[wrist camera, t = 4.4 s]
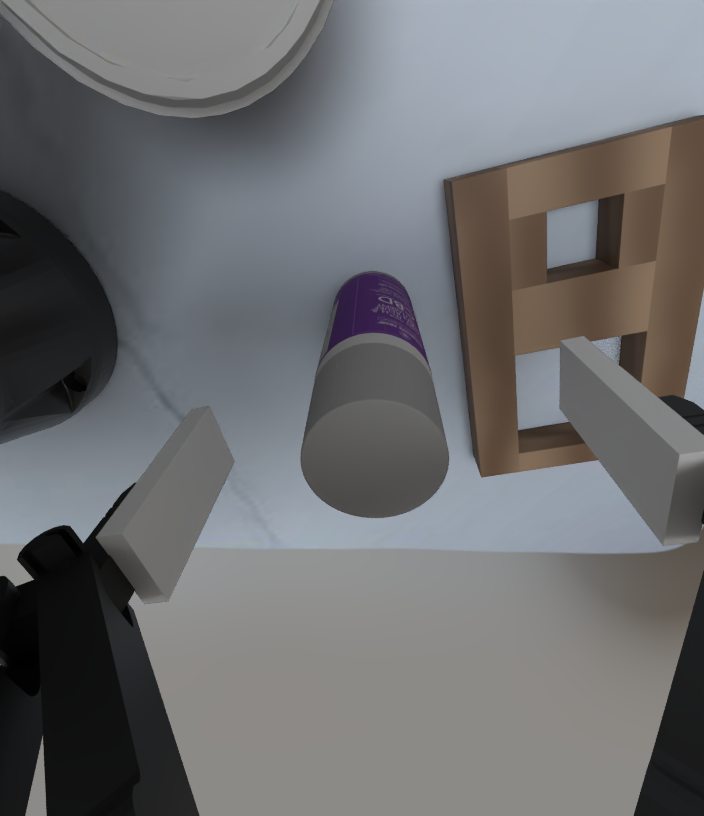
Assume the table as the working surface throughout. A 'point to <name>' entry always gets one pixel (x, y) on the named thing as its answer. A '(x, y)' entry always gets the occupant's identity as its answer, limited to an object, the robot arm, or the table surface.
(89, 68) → the disposable coffee cup
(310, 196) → the table surface
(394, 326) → the container
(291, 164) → the table surface
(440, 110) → the table surface
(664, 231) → the socket board
